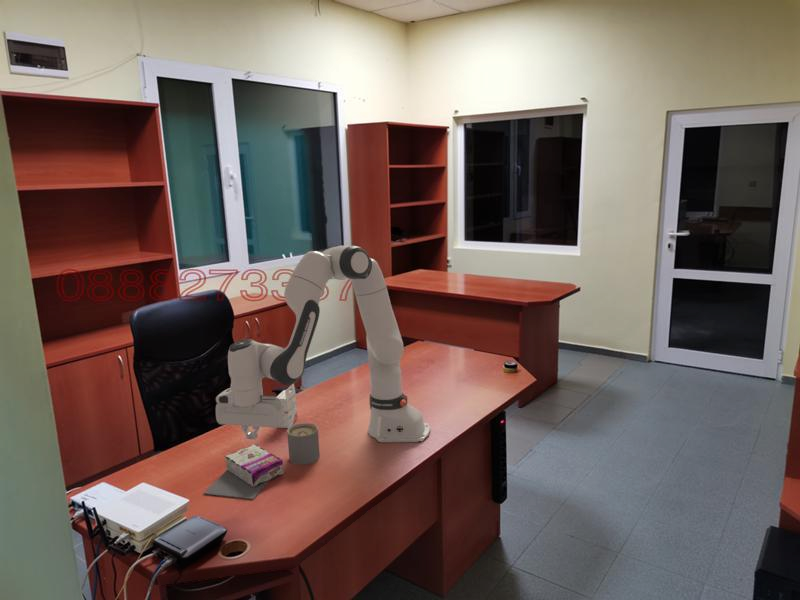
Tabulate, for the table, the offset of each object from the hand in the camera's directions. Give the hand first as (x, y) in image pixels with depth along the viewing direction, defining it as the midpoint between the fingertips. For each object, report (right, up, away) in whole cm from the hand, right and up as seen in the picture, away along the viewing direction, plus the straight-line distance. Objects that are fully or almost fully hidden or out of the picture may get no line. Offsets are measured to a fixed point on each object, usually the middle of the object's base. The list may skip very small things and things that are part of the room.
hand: (252, 438), depth 168 cm
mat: (-4, -15, +4) cm, 16 cm away
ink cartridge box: (+2, -6, +45) cm, 45 cm away
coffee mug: (+13, -11, +20) cm, 27 cm away
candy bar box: (+4, -12, +3) cm, 13 cm away
